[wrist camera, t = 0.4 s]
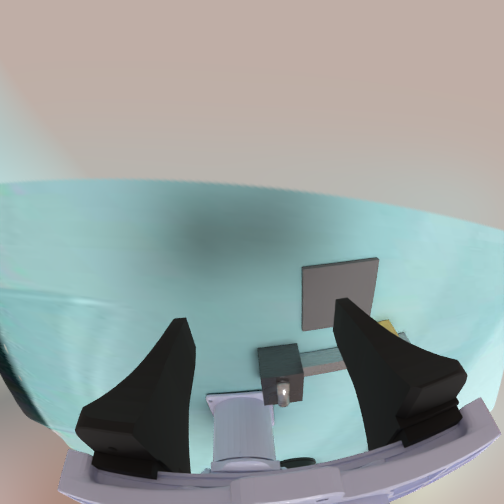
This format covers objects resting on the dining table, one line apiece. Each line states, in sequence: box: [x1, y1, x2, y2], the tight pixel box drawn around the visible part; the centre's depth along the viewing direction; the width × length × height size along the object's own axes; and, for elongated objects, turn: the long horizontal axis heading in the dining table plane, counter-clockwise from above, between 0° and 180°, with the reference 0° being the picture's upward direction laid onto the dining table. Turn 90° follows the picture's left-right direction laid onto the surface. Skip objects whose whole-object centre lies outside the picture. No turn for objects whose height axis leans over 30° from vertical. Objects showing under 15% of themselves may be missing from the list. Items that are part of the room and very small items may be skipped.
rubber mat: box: [302, 258, 379, 331], centre depth 25 cm, size 7×7×1 cm
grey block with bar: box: [258, 333, 410, 407], centre depth 27 cm, size 5×17×5 cm, turn 95°
